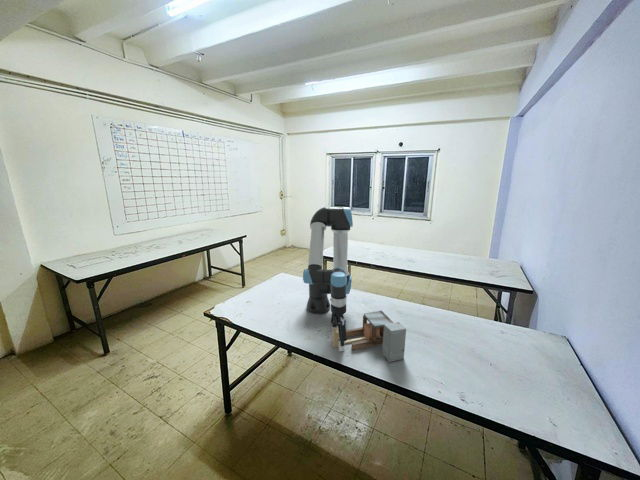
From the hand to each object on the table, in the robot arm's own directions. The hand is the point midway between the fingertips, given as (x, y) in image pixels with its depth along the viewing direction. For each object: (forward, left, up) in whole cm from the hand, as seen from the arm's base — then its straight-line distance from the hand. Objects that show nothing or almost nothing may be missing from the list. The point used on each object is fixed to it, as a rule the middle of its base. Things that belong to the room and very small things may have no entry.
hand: (338, 344), depth 127 cm
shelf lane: (0, +15, 0) cm, 15 cm away
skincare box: (+15, +22, 0) cm, 27 cm away
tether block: (0, +9, 0) cm, 9 cm away
